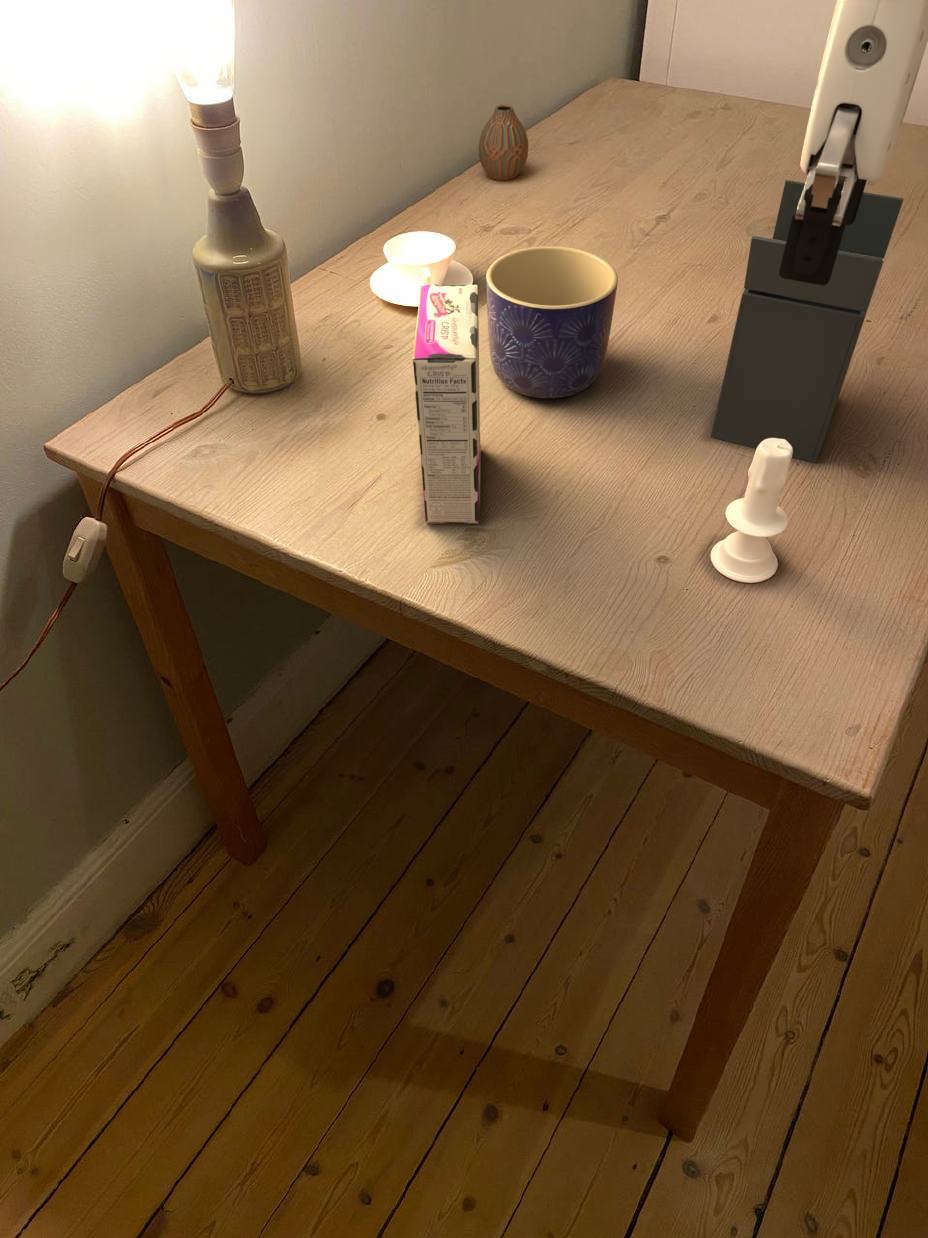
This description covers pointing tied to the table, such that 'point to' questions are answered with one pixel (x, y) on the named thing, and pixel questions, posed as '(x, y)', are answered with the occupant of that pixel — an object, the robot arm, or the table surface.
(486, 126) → the vase
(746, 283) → the panel
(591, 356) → the planter
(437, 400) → the candy bar box
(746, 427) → the chute
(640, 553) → the table surface
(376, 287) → the teacup
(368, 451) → the table surface
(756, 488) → the candle
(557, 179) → the table surface
